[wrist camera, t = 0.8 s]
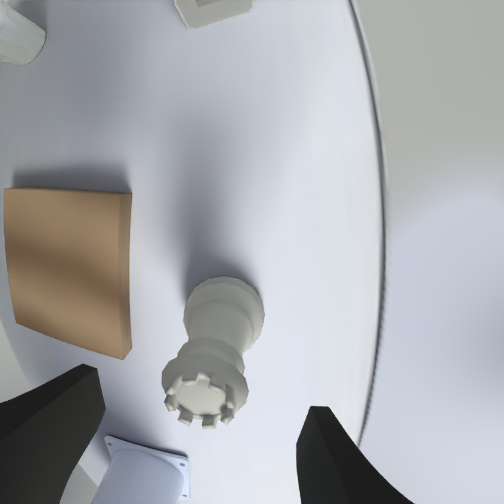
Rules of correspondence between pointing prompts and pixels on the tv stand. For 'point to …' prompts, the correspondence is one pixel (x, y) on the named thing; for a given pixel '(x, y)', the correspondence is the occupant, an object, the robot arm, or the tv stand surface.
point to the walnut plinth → (70, 265)
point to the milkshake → (18, 37)
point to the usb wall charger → (210, 10)
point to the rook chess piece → (214, 352)
